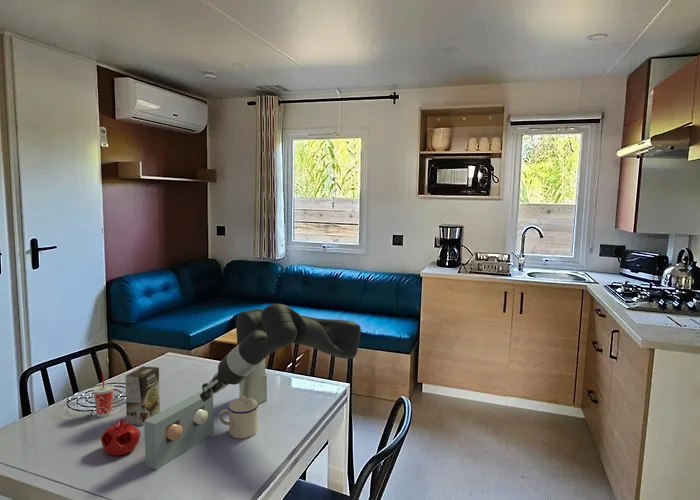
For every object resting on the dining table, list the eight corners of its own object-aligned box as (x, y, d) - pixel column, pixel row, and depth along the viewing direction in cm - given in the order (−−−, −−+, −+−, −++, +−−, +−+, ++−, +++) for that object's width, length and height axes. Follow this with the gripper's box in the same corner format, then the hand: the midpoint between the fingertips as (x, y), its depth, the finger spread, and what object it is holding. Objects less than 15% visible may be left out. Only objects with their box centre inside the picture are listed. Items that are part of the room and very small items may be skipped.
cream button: (180, 421, 135) (180, 408, 135) (190, 415, 139) (190, 403, 138) (198, 426, 132) (198, 413, 132) (207, 420, 136) (207, 408, 135)
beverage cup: (90, 415, 150) (88, 375, 148) (107, 408, 155) (105, 369, 154) (101, 420, 147) (99, 378, 146) (118, 412, 152) (117, 372, 151)
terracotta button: (153, 437, 126) (152, 423, 126) (164, 430, 130) (164, 417, 129) (171, 443, 123) (171, 429, 123) (182, 436, 127) (182, 422, 126)
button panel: (145, 466, 123) (144, 420, 121) (203, 429, 142) (203, 390, 141) (156, 470, 121) (154, 424, 119) (213, 432, 141) (213, 392, 139)
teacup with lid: (260, 424, 146) (260, 390, 145) (255, 439, 137) (255, 402, 136) (223, 424, 146) (222, 390, 144) (215, 439, 137) (215, 402, 135)
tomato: (114, 440, 135) (112, 411, 134) (146, 441, 135) (145, 411, 134) (94, 458, 125) (92, 426, 125) (129, 459, 125) (128, 427, 124)
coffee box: (143, 425, 144) (142, 377, 142) (125, 423, 145) (124, 375, 143) (161, 412, 153) (159, 367, 151) (144, 410, 154) (142, 365, 152)
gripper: (231, 384, 108) (193, 420, 115) (263, 366, 120) (227, 399, 127) (214, 359, 110) (177, 396, 117) (247, 343, 122) (212, 377, 128)
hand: (203, 397), depth 122 cm, fingers closed
